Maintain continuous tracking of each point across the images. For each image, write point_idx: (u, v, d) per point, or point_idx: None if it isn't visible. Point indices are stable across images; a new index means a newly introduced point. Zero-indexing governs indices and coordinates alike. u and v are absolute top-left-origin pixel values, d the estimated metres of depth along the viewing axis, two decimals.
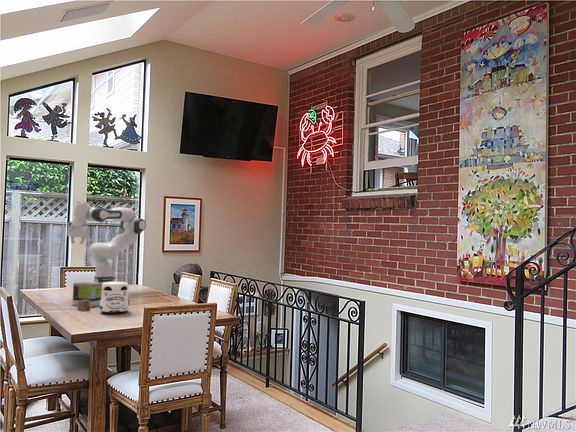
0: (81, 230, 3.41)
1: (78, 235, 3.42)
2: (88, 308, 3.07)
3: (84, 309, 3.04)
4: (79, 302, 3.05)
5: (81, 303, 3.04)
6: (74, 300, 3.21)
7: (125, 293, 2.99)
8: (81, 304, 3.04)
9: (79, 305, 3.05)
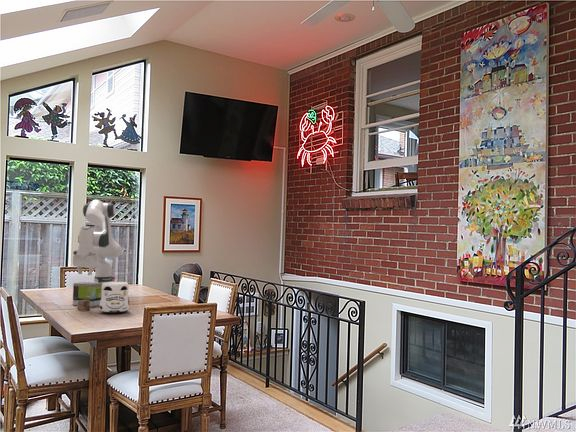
0: (88, 260, 3.03)
1: (85, 265, 3.04)
2: (88, 308, 3.07)
3: (84, 309, 3.04)
4: (79, 302, 3.05)
5: (81, 303, 3.04)
6: (74, 300, 3.21)
7: (125, 293, 2.99)
8: (81, 304, 3.04)
9: (79, 305, 3.05)
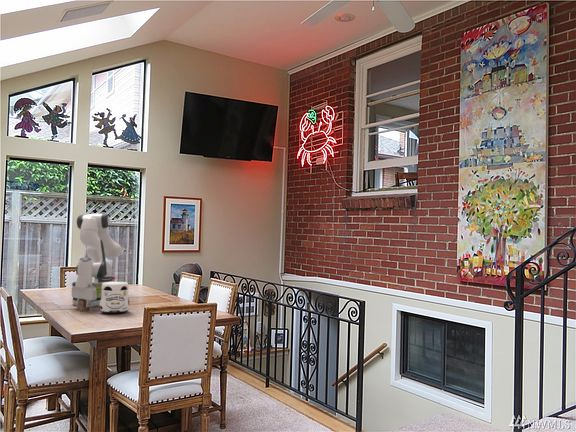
0: (87, 292, 3.03)
1: (84, 297, 3.04)
2: (88, 308, 3.07)
3: (84, 309, 3.04)
4: (79, 302, 3.05)
5: (81, 303, 3.04)
6: (74, 300, 3.21)
7: (125, 293, 2.99)
8: (81, 304, 3.04)
9: (79, 305, 3.05)
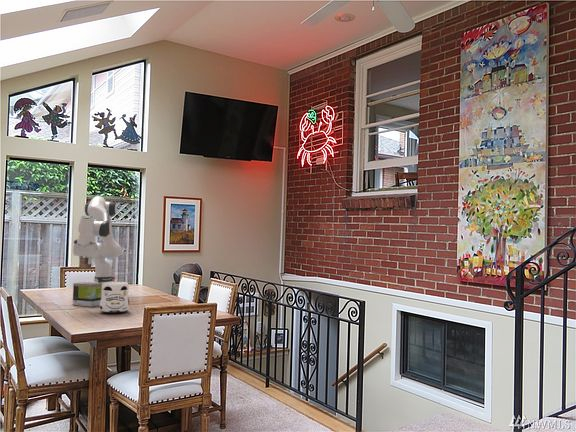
0: (89, 249, 3.03)
1: (86, 255, 3.04)
2: (90, 265, 3.07)
3: (86, 266, 3.04)
4: (81, 259, 3.05)
5: (82, 260, 3.04)
6: (74, 300, 3.21)
7: (125, 293, 2.99)
8: (83, 261, 3.04)
9: (81, 262, 3.05)
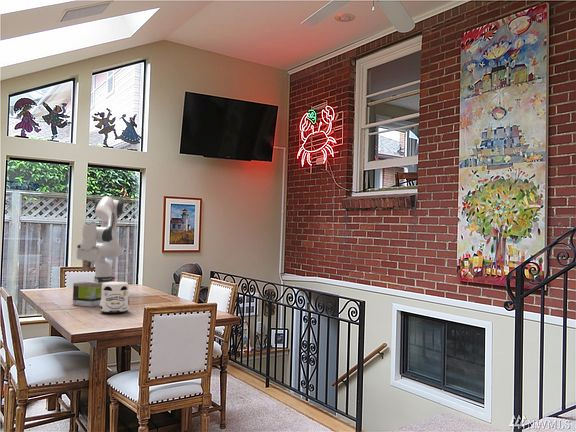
0: (92, 253, 3.20)
1: (89, 258, 3.21)
2: (92, 269, 3.24)
3: (88, 269, 3.21)
4: (84, 263, 3.22)
5: (85, 264, 3.21)
6: (74, 300, 3.21)
7: (125, 293, 2.99)
8: (86, 265, 3.21)
9: (84, 266, 3.22)
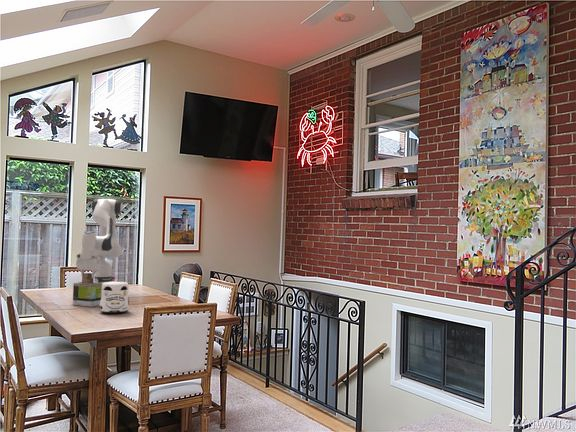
0: (91, 263, 3.20)
1: (88, 268, 3.21)
2: (92, 281, 3.24)
3: (88, 281, 3.21)
4: (83, 275, 3.22)
5: (85, 276, 3.21)
6: (74, 300, 3.21)
7: (125, 293, 2.99)
8: (85, 277, 3.21)
9: (83, 278, 3.22)
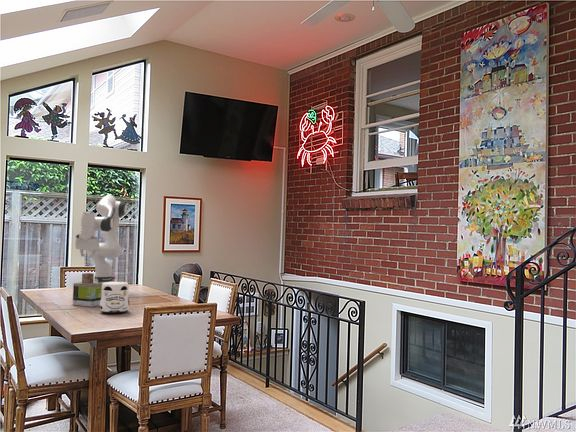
0: (90, 243, 3.21)
1: (88, 248, 3.22)
2: (92, 281, 3.24)
3: (88, 281, 3.21)
4: (83, 275, 3.22)
5: (85, 276, 3.21)
6: (74, 300, 3.21)
7: (125, 293, 2.99)
8: (85, 277, 3.21)
9: (83, 278, 3.22)
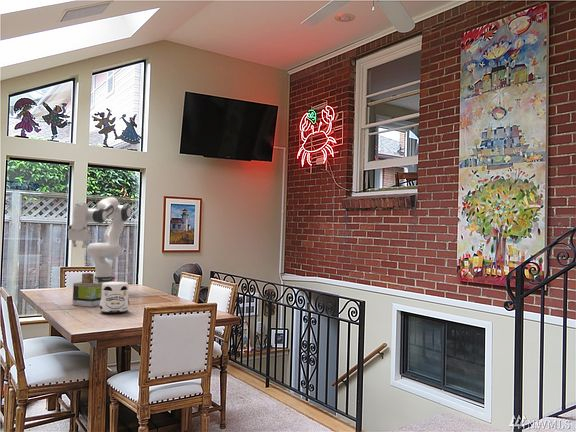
0: (82, 233, 3.28)
1: (79, 239, 3.29)
2: (92, 281, 3.24)
3: (88, 281, 3.21)
4: (83, 275, 3.22)
5: (85, 276, 3.21)
6: (74, 300, 3.21)
7: (125, 293, 2.99)
8: (85, 277, 3.21)
9: (83, 278, 3.22)
